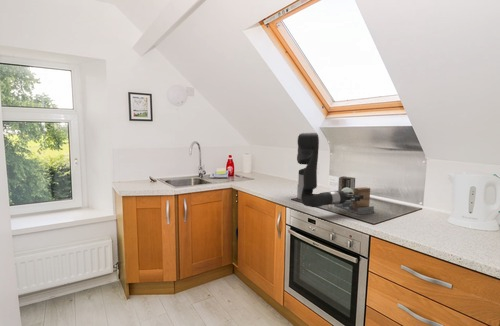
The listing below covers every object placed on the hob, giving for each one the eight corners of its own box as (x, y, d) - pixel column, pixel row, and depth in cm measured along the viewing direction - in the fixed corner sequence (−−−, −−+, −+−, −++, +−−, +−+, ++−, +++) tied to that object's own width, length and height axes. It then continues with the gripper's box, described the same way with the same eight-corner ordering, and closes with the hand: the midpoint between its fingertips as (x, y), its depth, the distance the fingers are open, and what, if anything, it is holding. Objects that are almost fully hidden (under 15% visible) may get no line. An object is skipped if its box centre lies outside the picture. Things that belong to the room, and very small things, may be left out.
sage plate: (338, 205, 176) (339, 187, 175) (352, 203, 180) (353, 186, 179) (339, 205, 175) (340, 188, 174) (353, 204, 179) (354, 187, 178)
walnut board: (352, 209, 166) (353, 188, 164) (364, 208, 169) (365, 187, 168) (356, 211, 163) (358, 189, 161) (368, 210, 166) (370, 188, 165)
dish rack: (334, 205, 179) (334, 200, 179) (348, 203, 184) (349, 198, 183) (358, 214, 160) (358, 208, 160) (374, 212, 165) (374, 206, 164)
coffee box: (354, 201, 191) (355, 177, 189) (349, 202, 186) (350, 178, 185) (342, 198, 197) (343, 176, 196) (337, 200, 193) (338, 176, 191)
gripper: (344, 193, 150) (367, 191, 157) (327, 188, 163) (349, 186, 170) (343, 207, 151) (366, 204, 158) (326, 201, 164) (348, 199, 171)
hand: (357, 195), depth 164 cm, fingers open, 8 cm apart
